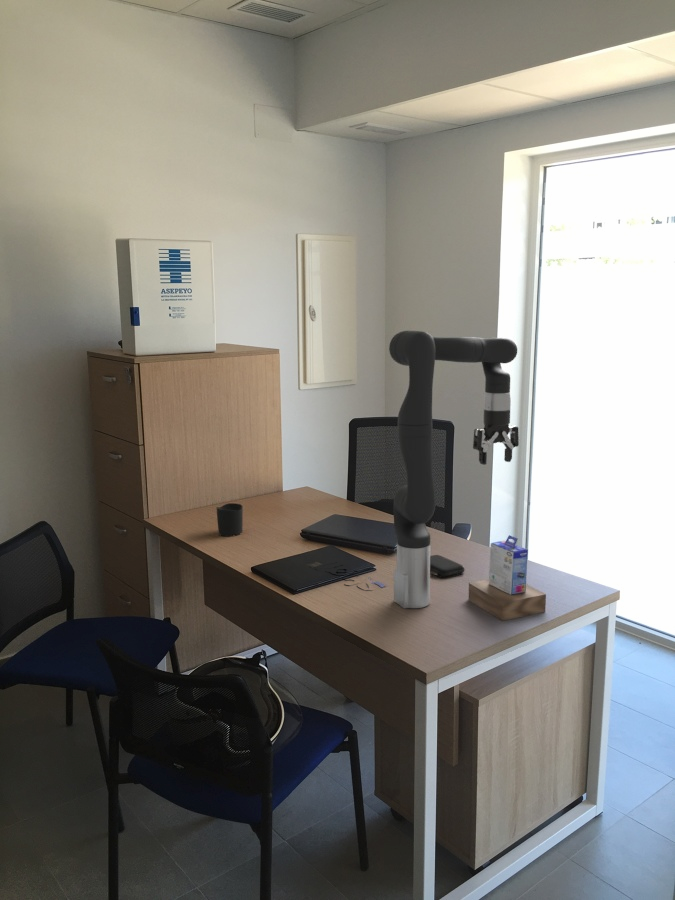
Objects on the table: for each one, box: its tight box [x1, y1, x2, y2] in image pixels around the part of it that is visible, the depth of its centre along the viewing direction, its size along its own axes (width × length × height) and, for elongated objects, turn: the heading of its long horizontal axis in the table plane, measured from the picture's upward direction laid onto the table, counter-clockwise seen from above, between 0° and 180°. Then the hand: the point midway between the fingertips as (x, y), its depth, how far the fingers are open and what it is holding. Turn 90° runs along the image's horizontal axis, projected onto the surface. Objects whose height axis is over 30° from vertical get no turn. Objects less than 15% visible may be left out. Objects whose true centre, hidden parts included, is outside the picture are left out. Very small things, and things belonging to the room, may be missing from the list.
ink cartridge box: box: [488, 535, 529, 595], centre depth 211 cm, size 10×6×14 cm, turn 29°
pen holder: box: [216, 502, 244, 537], centre depth 282 cm, size 9×9×10 cm
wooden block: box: [468, 578, 547, 621], centre depth 213 cm, size 14×16×5 cm
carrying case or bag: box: [430, 554, 466, 579], centre depth 242 cm, size 11×3×15 cm
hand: (495, 462), depth 226 cm, fingers open, 8 cm apart
